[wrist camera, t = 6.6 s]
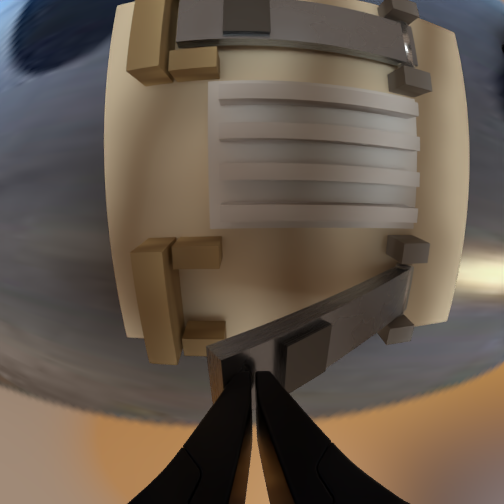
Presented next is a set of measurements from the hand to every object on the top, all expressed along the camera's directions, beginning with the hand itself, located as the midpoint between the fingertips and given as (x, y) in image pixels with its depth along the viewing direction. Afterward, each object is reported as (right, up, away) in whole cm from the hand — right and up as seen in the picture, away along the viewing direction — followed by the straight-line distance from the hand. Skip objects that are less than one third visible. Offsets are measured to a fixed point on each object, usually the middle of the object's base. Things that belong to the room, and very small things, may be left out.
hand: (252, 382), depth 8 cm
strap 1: (+2, +14, +3) cm, 15 cm away
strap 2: (+3, +1, +3) cm, 5 cm away
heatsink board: (+3, +8, +6) cm, 11 cm away
